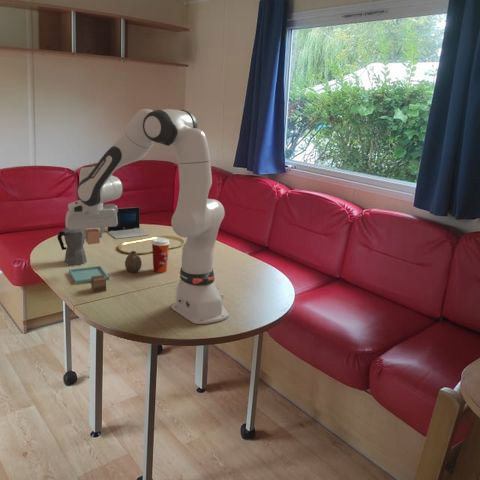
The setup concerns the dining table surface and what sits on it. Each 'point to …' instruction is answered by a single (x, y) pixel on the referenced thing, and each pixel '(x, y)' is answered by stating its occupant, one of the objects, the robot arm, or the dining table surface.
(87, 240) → the terracotta block
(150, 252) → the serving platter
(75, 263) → the coffeepot
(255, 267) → the dining table surface
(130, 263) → the vase
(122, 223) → the laptop
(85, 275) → the tray
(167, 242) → the paper cup
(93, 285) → the walnut block
